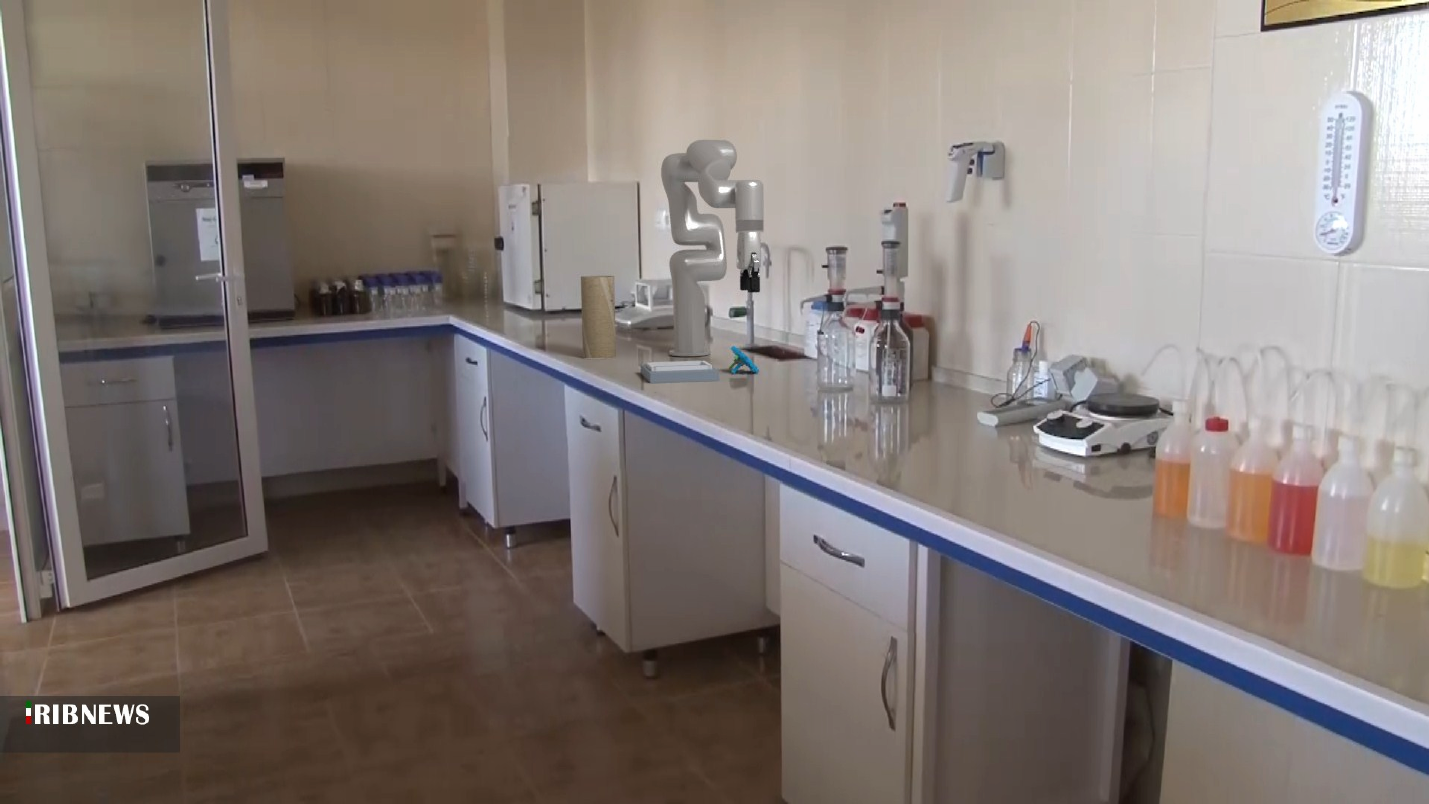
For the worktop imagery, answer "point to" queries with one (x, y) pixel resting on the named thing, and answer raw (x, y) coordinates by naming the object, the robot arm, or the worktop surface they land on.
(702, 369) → the plate
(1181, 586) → the worktop surface
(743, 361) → the blue cogwheel with peg
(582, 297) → the tube
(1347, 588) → the worktop surface
